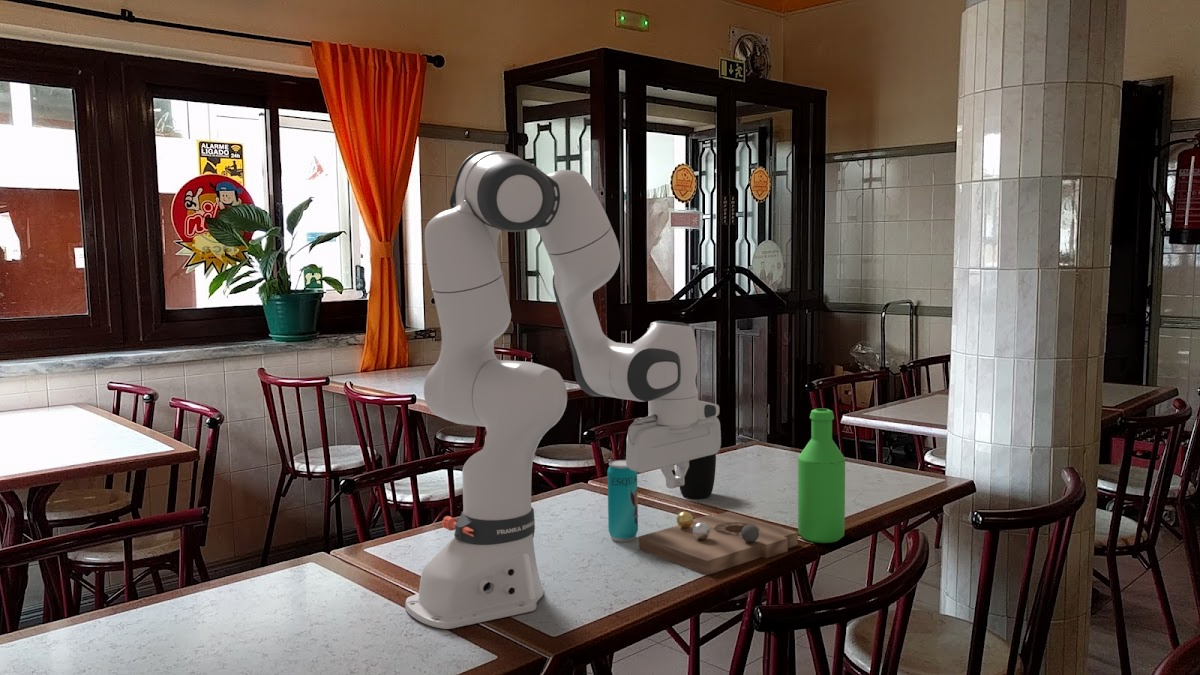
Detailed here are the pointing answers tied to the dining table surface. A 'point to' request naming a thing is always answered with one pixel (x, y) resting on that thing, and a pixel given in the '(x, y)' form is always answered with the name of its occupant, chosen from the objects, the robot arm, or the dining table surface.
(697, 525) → the steel ball
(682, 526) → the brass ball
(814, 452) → the bottle
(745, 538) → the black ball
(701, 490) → the mug
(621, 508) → the beverage can
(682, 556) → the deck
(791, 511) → the dining table surface
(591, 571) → the dining table surface
